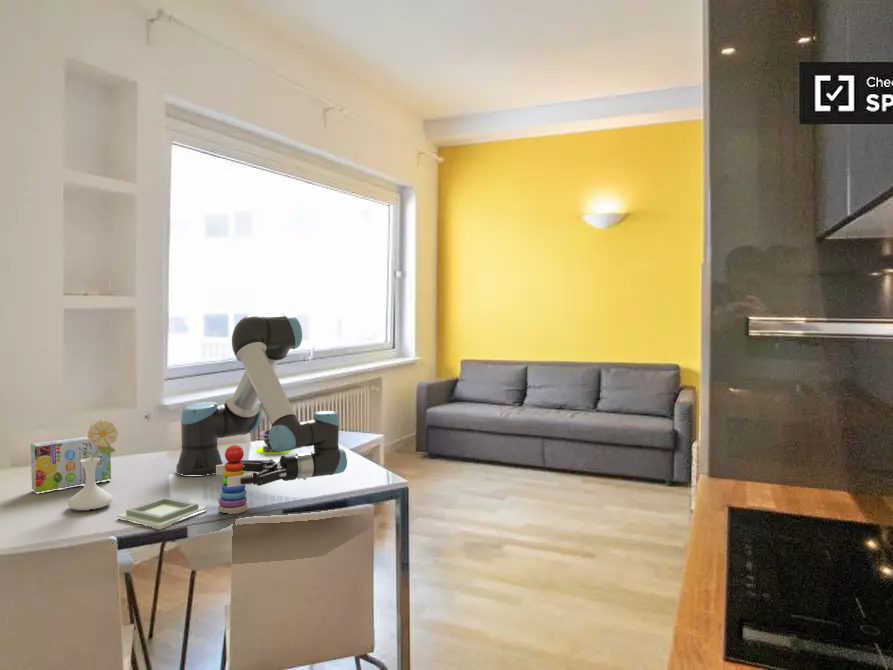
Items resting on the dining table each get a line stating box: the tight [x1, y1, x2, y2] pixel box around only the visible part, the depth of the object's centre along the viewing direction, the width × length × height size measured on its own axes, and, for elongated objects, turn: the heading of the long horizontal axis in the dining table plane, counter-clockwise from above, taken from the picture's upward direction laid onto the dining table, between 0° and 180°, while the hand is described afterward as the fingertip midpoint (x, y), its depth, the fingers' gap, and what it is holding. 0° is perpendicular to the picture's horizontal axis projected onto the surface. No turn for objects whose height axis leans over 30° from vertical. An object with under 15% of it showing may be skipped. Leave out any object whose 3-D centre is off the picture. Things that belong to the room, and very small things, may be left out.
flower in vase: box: [67, 419, 119, 511], centre depth 185 cm, size 13×11×25 cm
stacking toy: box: [217, 444, 249, 515], centre depth 183 cm, size 8×8×19 cm
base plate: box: [117, 496, 207, 530], centre depth 179 cm, size 16×16×2 cm
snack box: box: [30, 436, 112, 492], centre depth 204 cm, size 21×6×15 cm, turn 134°
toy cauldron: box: [255, 425, 295, 455], centre depth 257 cm, size 15×15×11 cm
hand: (221, 476), depth 182 cm, fingers open, 13 cm apart
